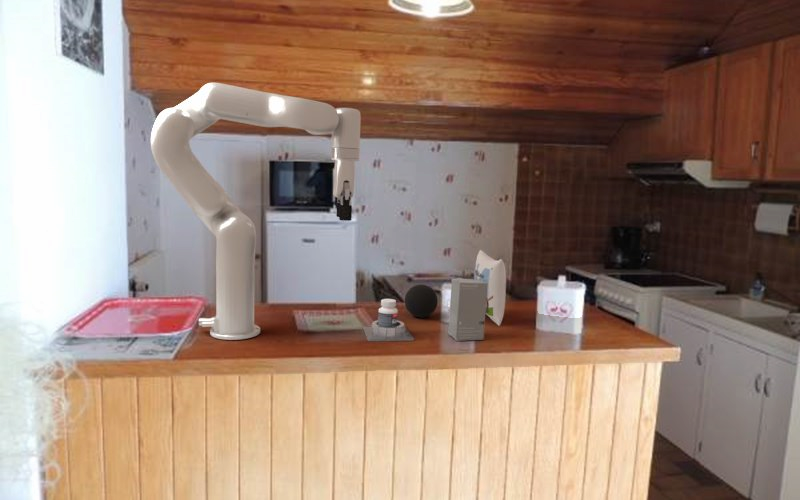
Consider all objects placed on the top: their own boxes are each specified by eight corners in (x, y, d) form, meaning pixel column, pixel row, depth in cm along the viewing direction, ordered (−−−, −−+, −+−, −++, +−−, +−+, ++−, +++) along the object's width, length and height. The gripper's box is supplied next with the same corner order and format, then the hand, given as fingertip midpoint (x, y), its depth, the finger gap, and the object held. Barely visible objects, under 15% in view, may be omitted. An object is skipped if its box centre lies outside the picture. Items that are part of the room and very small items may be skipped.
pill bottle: (394, 336, 150) (395, 303, 149) (375, 333, 152) (376, 301, 150) (398, 331, 155) (400, 299, 154) (380, 328, 157) (381, 297, 155)
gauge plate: (368, 341, 147) (368, 329, 147) (363, 329, 158) (363, 318, 157) (413, 340, 149) (414, 329, 149) (405, 328, 160) (406, 318, 160)
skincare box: (456, 341, 150) (459, 282, 148) (446, 333, 157) (449, 277, 155) (485, 340, 152) (489, 282, 150) (475, 332, 159) (478, 277, 157)
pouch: (491, 310, 186) (495, 249, 183) (509, 326, 167) (514, 259, 164) (467, 310, 185) (471, 249, 182) (483, 326, 166) (487, 258, 163)
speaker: (439, 314, 177) (441, 283, 176) (433, 322, 167) (434, 289, 166) (408, 311, 179) (409, 280, 178) (400, 319, 170) (401, 286, 168)
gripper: (329, 155, 161) (328, 215, 163) (333, 154, 144) (332, 221, 147) (355, 156, 162) (354, 216, 165) (363, 155, 146) (361, 222, 148)
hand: (343, 218), depth 156 cm, fingers open, 9 cm apart
